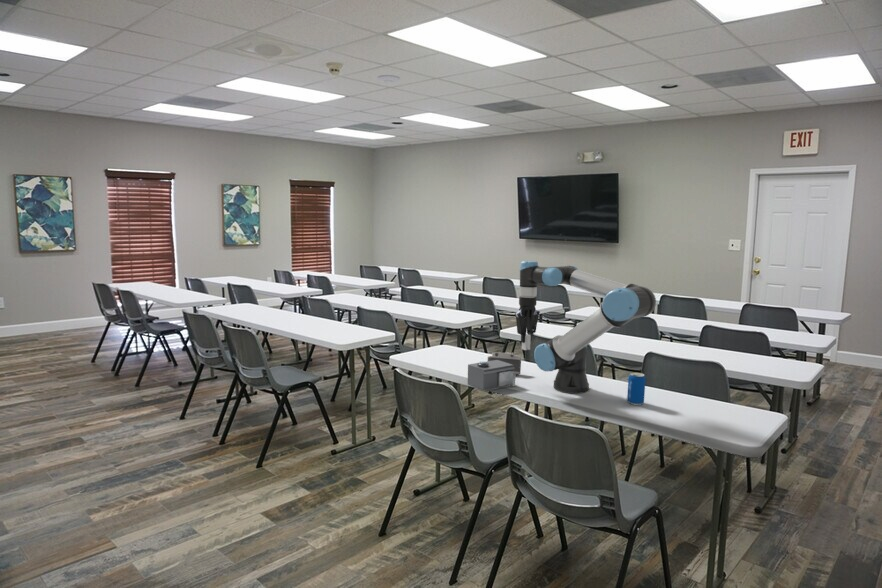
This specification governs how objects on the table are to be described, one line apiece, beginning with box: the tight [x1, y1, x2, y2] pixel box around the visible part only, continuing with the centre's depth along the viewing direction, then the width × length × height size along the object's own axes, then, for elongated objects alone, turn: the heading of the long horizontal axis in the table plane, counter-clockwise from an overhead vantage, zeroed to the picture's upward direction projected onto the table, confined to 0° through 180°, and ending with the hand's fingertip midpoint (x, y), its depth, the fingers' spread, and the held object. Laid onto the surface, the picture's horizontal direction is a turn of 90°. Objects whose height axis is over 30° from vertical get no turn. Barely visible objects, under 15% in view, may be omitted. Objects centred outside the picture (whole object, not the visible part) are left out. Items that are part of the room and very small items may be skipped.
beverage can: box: [626, 372, 647, 406], centre depth 228 cm, size 6×6×12 cm
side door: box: [498, 370, 517, 387], centre depth 246 cm, size 3×7×6 cm, turn 125°
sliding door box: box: [467, 360, 515, 392], centre depth 250 cm, size 12×17×11 cm
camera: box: [487, 351, 522, 376], centre depth 272 cm, size 9×16×10 cm, turn 85°
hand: (525, 349), depth 249 cm, fingers closed
